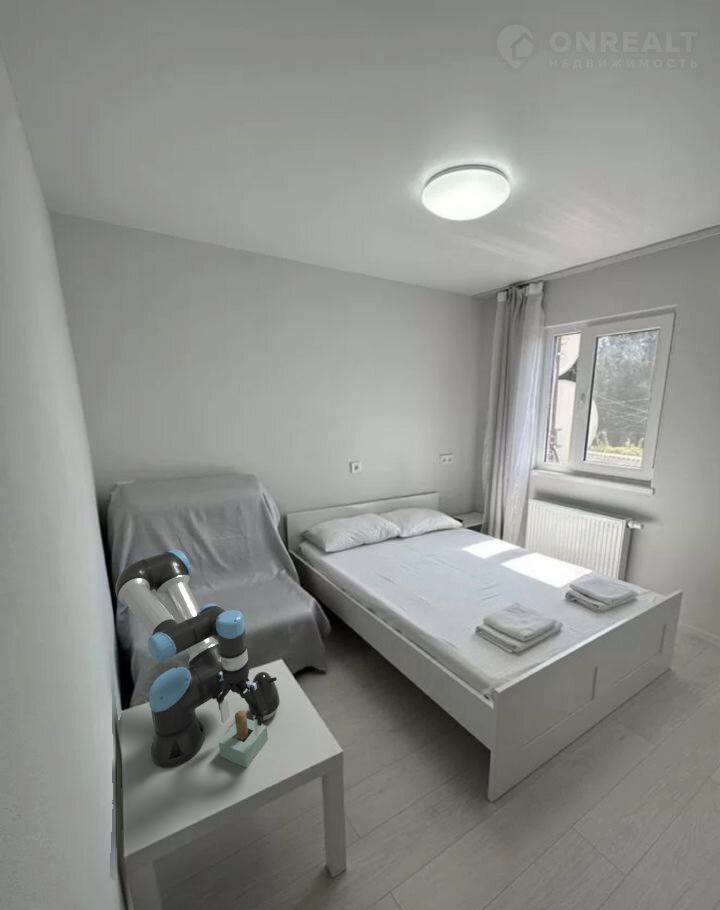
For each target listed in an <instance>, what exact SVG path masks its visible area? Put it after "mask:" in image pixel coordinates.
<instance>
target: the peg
mask: <svg viewBox="0 0 720 910" xmlns="http://www.w3.org/2000/svg"><path fill="white" fill-rule="evenodd" d="M234 719H235V723H236V730H237V738H238V740H240V741H242V742H245V740H246V739H247V738H248V737H249V736H248V727H247V719H248V718H247V711H245V710H242V709H240V710H238V711H237V712H236V713H235V715H234Z"/></svg>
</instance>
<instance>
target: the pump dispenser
mask: <svg viewBox="0 0 720 910" xmlns="http://www.w3.org/2000/svg"><path fill="white" fill-rule="evenodd" d="M252 679H253V680H252V682H253V683H254V681H257V682H258V686H259V689H260V692H261V694H262V696H263V698H264V701H265V703H266V705H267V707H268V710H269V711H268V712H267V713H266V715H265V716H264V717H263V718H264V721H266V720H269V719H271V718H272V717H274V715H275V714H276V713H277V711H278V709H279V708H278V707H279V705H280V703H281V702H280V695H279V691H278V687H277V685H276V683H275V682H276V681H277V679H278V678H277V677H276V676H275V677H272V676H271V675H270V673H268V672H265V671H260V672H258V673H257V674H256V675H255V676H254V677H253V678H252ZM247 707H248V711H249V714H250V715H251V716H252V718H253V717H254V715H255V714H254V713H253V711H252V710H251V708H250V707H249V705H248V704H247Z"/></svg>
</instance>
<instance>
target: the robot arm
mask: <svg viewBox="0 0 720 910" xmlns="http://www.w3.org/2000/svg"><path fill="white" fill-rule="evenodd" d="M191 574H192V567H191V565H190V561H189V559H188V557H187V555H185V553H184V552H183V551H181V550H180V549H172V550H171V549H170V550H168V551H167V550H166V551H164V552H162V553H158V554H156V555H153V556H150V557H149V556H148V557H146V558H142V559H140V560H137V561H136V560H135V561H134V562H132V563H130V564H129V565H128V566H127V565H126V567H125V568H124V569H123V570H122V572H120V574H119V576H118V577H117V580H116V583H115V594H116V595H115V596H116V598H117V599H118V601H119V602H120V603H121V604H122V605H124V606H127V607H128V608H129V609H130V611H131V612H132V613H133V615H134V616H135V617H136V619H137V620H138V622H139V623H140V625H141V626H142V628H144V630H145V631H146V632H147V634H148V635H149V637H148V640H147V647H148V651H149V653H150V655H151V658H152V660H153V661H154V662H155V663H161V662H163V661H166V660H168V659H171V658H173V657H174V656H177V655H178V654H180V653H183V651H186V650H187V652H188V654H189V656H190V657H189V659H188V661H187V665H188V668H186V667H185V666H178V667H177V668H176V667H172V668H170V669H168V670H166V671H165V672H163V673H161V675H159V676H158V677H157V678H156V679H155V680H154V682H152V685H151V687H150V689H149V693H148V695H149V696H148V697H149V698H148V699H149V708H150V711H151V717H152V724H153V729H154V732H153V733H154V734H153V740H152V742H151V747H150V753H151V759H152V762H153V763H154V764H155V765H156V766H157V767H160V768H164V769H167V768H168V769H169V768H170V769H171V768H174V767H178V766H181V765H182V764H185V763H186V762H188V761H189V760H190V759H192V758H193V757H194V756H195V755H197V754H198V752H199V751H201V750H200V749H201V748H202V746H203V745H204V742H205V736H206V735H205V728H204V725H203V723H202V722H201V720H200V719H199V717H198V716H197V714H196V709H198V708H199V707H200V706H202V705H204V704H206V703H207V702H208V701H210V700H216V702H217V704H218V709H219V710H218V711H220V718H221V721H220V722H221V723H222V724H224V723H225V722H226V721H227V720H228V719H229V717H230V716H231V715H230V707H229V699H228V697H226V696H227V695H228V694H229V693H230V691H231V692H232V693H236V694H237V695H239V696H240V697H241V699H244V700H245V702H246V703H247V706H248V705H249V706H248V708H249V707H250V708H251V710H252V711H253V713H254V714H255V715H254V717H253V716H252V718H253V721H254V728H255V736H258V735H259V734H260V733H261V731H262V730H263V725H264V721H265V720H264V718H263V717H264V716H265V715H266V713H267V712H268V711H269V710H268V707H267V705H266V703H265V701H264V698H263V696H262V694H261V692H260V689H259V686H258V682H257V681H254V683H253V682H251V681H250V678H249V673H250V667H249V666H250V663H249V657H248V656H249V655H248V649H247V636H246V624H245V620H244V615H243V613H242V611H240V610H235V609H228V610H225V609H224V608H223V607H221V606H219V605H217V604H216V603H211V602H210V603H206V604H204V605H203V606H201V607H199V605H198V602H197V601H196V598H195V596H194V594H193V593H192V591H191V588H190V585H189V581H190V575H191ZM154 590H155V593H156V595H158V596H159V597H160V596H161V597H163V598H164V601H165V603H166V605H167V607H168V609H169V610H168V609H167V608H166V607H165V606H164V605H163V604H162V602H161V601H160V599H158V598H157V596H156V595H155V594H154V593H153V592H152V591H154Z"/></svg>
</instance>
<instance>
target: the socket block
mask: <svg viewBox="0 0 720 910" xmlns="http://www.w3.org/2000/svg"><path fill="white" fill-rule="evenodd" d="M247 727H248V736H249V737H248V738H247V739H246V740H245V742H242V741H240V740H238V738H237V730H236V722H235V723H234V724H233V725H232V726H231V727H230V728H229V730H228V731H227V732H226V733H225V734H224V735H223V736H222V737H221V739H220V740H219V741H218V746H219V747H218V748H219V756H220V757H221V758H223V759H226V760H229V761H230V762H233V763H235V764H237V765H240V766H242V767H244V768H247V769H248V768H249V766H250V765H251V763H252V762H253V761H254V759H255V757H256V756H257V755H258V753H259V752H260V750H262V748H263V747H264V746H265V744H266V743H267V741H268V740H269V737H268V728H267V725H265V724H263V730H262V731H261V733H260V734H259V735H258V736H255V728H254V720H252V719H249V718H247Z"/></svg>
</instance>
